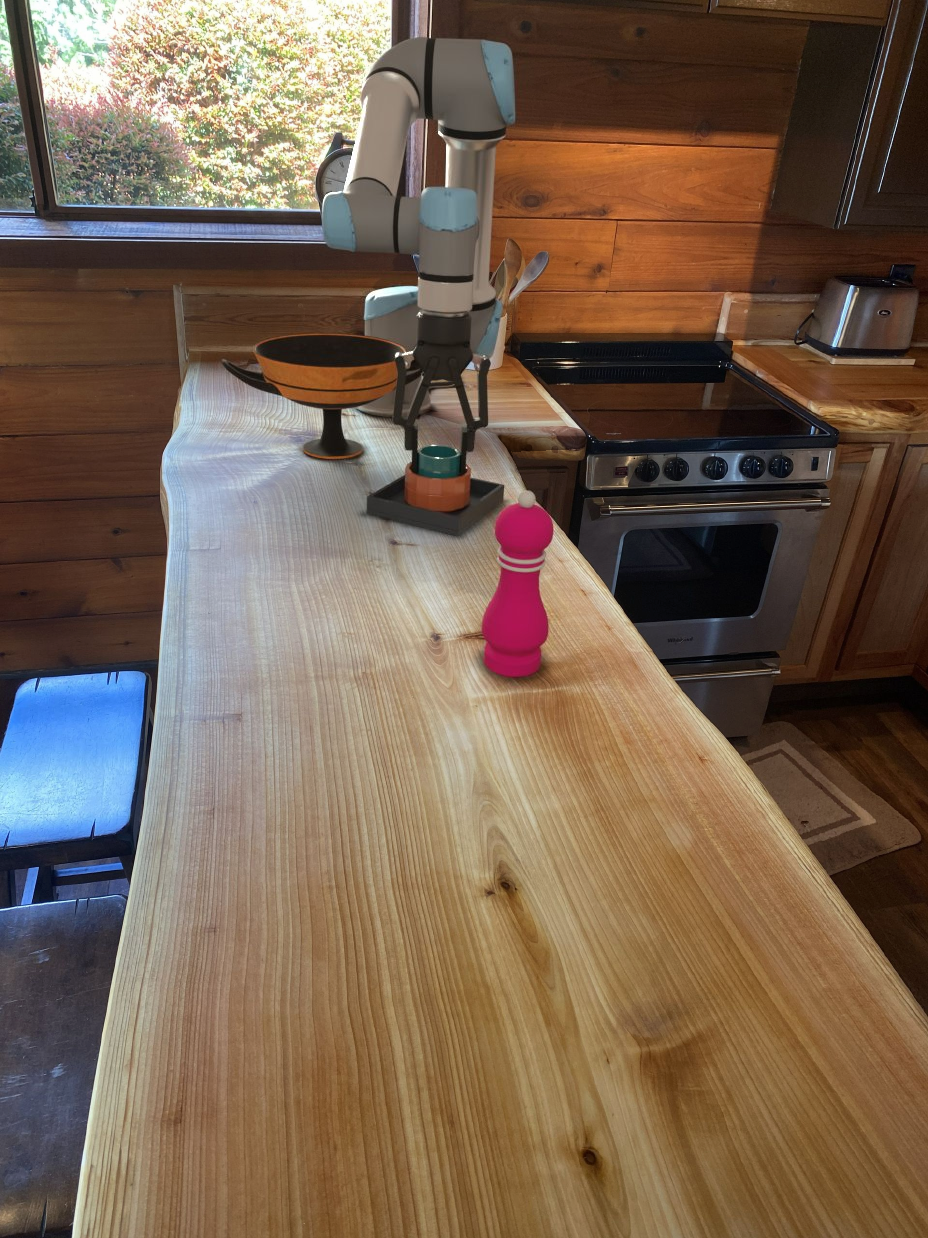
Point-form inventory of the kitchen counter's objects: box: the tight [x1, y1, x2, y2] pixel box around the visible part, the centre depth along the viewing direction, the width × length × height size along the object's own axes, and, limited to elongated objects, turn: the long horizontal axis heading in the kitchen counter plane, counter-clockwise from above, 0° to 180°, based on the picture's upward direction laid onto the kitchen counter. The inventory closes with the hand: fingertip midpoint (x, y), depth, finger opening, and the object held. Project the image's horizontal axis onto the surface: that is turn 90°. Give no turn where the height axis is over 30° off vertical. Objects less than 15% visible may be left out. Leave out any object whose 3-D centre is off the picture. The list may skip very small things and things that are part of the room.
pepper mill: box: [480, 490, 555, 678], centre depth 94 cm, size 7×7×20 cm
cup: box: [220, 332, 423, 460], centre depth 155 cm, size 36×26×18 cm
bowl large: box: [404, 461, 472, 513], centre depth 136 cm, size 10×10×6 cm
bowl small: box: [417, 444, 461, 479], centre depth 135 cm, size 6×6×4 cm
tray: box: [366, 474, 505, 537], centre depth 137 cm, size 16×15×3 cm
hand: (438, 470), depth 135 cm, fingers closed on bowl small, 6 cm apart
